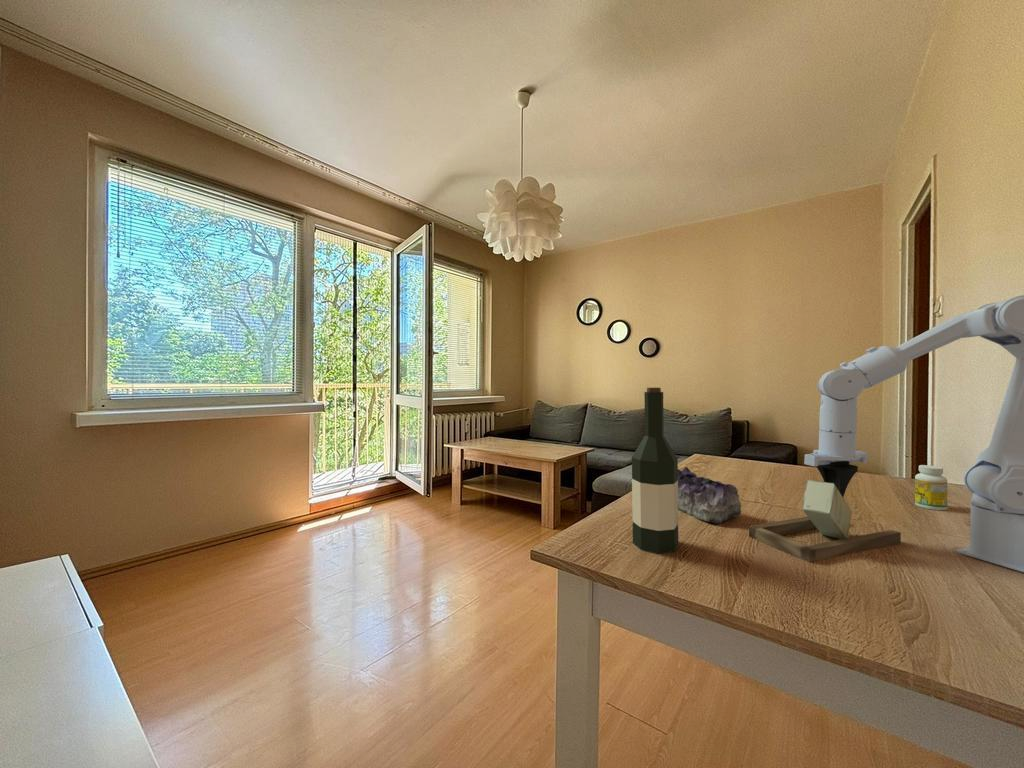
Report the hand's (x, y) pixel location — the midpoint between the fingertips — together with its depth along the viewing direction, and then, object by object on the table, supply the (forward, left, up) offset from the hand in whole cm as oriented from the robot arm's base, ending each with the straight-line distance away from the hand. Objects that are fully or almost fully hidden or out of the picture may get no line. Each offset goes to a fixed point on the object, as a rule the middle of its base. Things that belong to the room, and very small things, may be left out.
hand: (835, 500), depth 80 cm
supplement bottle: (+5, -39, -8) cm, 40 cm away
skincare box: (+1, -1, -5) cm, 5 cm away
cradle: (0, +4, -7) cm, 8 cm away
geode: (+22, +13, -8) cm, 27 cm away
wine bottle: (+9, +35, -7) cm, 37 cm away
